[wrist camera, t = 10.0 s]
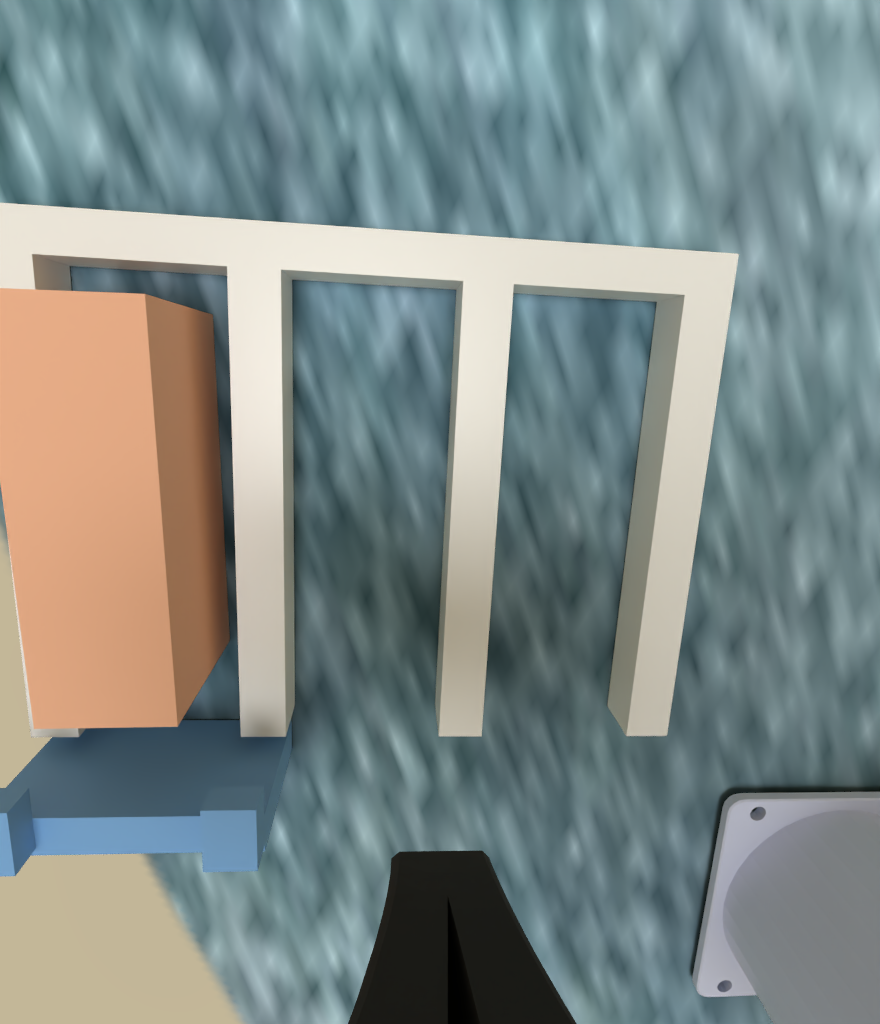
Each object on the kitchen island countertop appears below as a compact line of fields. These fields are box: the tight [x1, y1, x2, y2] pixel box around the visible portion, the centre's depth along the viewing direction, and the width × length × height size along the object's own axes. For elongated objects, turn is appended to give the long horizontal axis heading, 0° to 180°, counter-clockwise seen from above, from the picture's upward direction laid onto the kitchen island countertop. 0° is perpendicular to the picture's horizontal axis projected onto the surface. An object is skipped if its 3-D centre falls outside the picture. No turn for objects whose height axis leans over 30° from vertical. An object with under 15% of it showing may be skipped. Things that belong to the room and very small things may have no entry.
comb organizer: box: [0, 203, 739, 737], centre depth 16 cm, size 17×13×2 cm
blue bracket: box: [0, 720, 292, 876], centre depth 16 cm, size 6×2×5 cm, turn 87°
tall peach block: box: [0, 288, 230, 729], centre depth 14 cm, size 3×9×4 cm, turn 178°
